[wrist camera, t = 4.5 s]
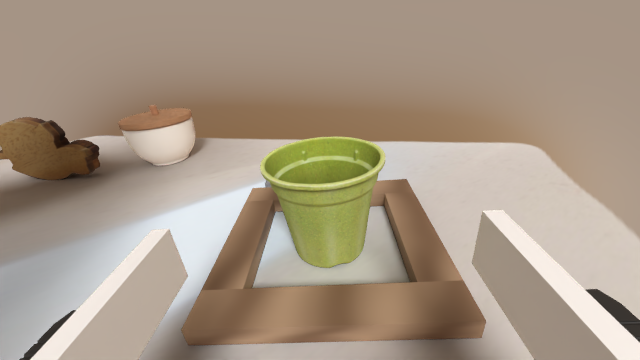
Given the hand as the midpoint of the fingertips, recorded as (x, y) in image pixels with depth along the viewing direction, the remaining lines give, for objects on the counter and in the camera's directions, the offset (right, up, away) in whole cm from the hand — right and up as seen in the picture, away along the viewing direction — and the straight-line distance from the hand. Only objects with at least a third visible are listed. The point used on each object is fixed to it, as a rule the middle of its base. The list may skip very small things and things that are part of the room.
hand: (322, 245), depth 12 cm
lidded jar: (-26, +6, +37) cm, 46 cm away
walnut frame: (+1, -3, +13) cm, 13 cm away
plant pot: (+1, -3, +13) cm, 14 cm away
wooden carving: (-43, +3, +34) cm, 54 cm away
